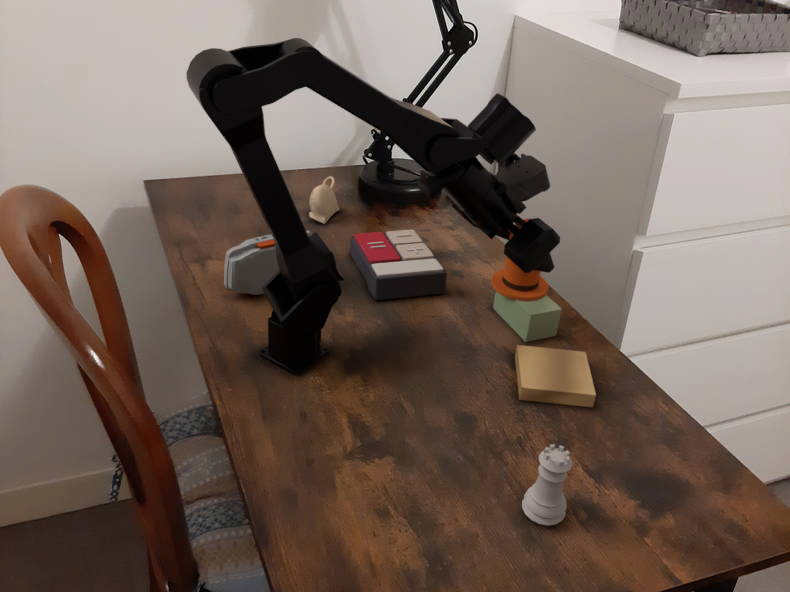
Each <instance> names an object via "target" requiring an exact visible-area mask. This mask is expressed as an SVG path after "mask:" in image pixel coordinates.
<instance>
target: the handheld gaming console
mask: <svg viewBox="0 0 790 592" xmlns="http://www.w3.org/2000/svg"><path fill="white" fill-rule="evenodd" d="M305 230H306V229H305ZM306 232H307V234H308V237H309V236H311V235H312V234H313V233H312V232H311V231H310V230H308V229H307V230H306ZM223 267H224V268H223V284H224V287H225V288H226V289H227V290H228V291H229V292H230V291H232V292H234V293H235V294H236V293H237V294H250V295H254V296H257V295H265V293H264V291H263V286H264V285H265V284H266V283H267V282H268V281H269V280H270V279H271V278H272V277H273V276H274V275H275V274H276V273H277V272H278V271H279V267H278V263H277V259H276V249H275V242H274V239H273V237H272V235H271V234H266V235H263V236H258V237H253V238H248V239H245V241H243V242H242V243H240V244H238V245H235V246H233V247H231V248H229V249H228V250H226V252H225V258H224V266H223Z"/></svg>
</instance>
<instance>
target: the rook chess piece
mask: <svg viewBox="0 0 790 592" xmlns="http://www.w3.org/2000/svg"><path fill="white" fill-rule="evenodd" d="M548 446H549V447H548ZM548 446H545V448H544V450H541V452H540V453H539V455H538V461H539V463H540V464H539V466H538V469H537V470H538V476H537V478H536V481H535V482H534V484H532V485H531V486H530V487H529V488H528V489H527V491H526V492H525V493H524V496H523V499H522V501H521V509H522V511H523V513H524V514H525V515H526V517H527V518H528V519H529V520H530V521H531V522H533V523H535V524H537V525H539V526H543V527H545V526H546V527H549V526H555V525H558V524H559V523H561V522H563V520H564V518H565V517H566V515H567V514H566V510H567V499H566V498H565V497H566V496H565V493H564V491H563V487H564V481H565V480H566V479H567V477H568V471H570V470H571V469H572V467H573V460H572V458H571V456H570V455H571V452H570V451H569V449H566V450H565V446H562V445H561V444H560V445H559V446H558V447H556V444H554V443H553V444H549V445H548Z"/></svg>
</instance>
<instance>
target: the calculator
mask: <svg viewBox="0 0 790 592" xmlns="http://www.w3.org/2000/svg"><path fill="white" fill-rule="evenodd" d="M349 254H350V256H351V257H352V259H353V262H354V263H355V265H356V266H357V268H358V270H359V272H360V273H361V275H362V276H363V279H364V280H365V282H366V285H367V289H368V291H369V293H370V294H371V296H372V297H373V299H374V300H375V301H381V300H393V299H401V298H412V297H423V296H430V295H431V296H432V295H433V296H434V295H440V294H445V293H446V286H447V277H448V276H447V275H448V271H447V270H446V268H445V267H444V266H443V265H442V264H441V262H440V261H439V260H438V259H437V257H436V256H435V254H434V253H433V252H432V251H431V250H430V248H429V246H427V245H426V243H425V242H424V241H423V240H422V238H421V237H420V236H419V234H418V233H417V232H416V231H415V230H414V229H402V230H401V229H399V230H388V231H387V230H386V231H385V233H383V231H376V232H375V231H374V232H373V231H372V232H360V233H354V234H353V235H352V236H351V235H350V238H349Z"/></svg>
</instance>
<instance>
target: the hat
mask: <svg viewBox="0 0 790 592" xmlns="http://www.w3.org/2000/svg"><path fill="white" fill-rule="evenodd" d="M522 219H523V220H524V221H526V222H527V221H528V220H529V219H530V218H522ZM514 225H516V224H515V223H514ZM516 226H517V227H518V228H519V229H521V228H520V227H519V226H518V225H516ZM513 236H514V235H513V234H512V233H510V238H509V240H510V239H511V238H512V237H513ZM509 240H508V241H509ZM541 272H542V271H536V270H532V271H531V272H529V273H524V272H523V271H522V270H521V269H520V268H518V267H517V266H516V265H515V264H514V263H513V262H512V261H511V260H510V259H509V258H508V257H507V256H506V255H505V262H504V268H503V269H501V270H498V271H496V272H495V273H493V275H492V277H491V284H490V285H491V287H492V288H493V290H494V291H495V292H496V291H497V292H498V293H499V294H501V295H503V296H505V297H508V298H511V299H514V300H520V301H533V300H538V299H541V298H543V297H544V296H545V295H548V292H549V283H548V282H547V280H546V279H545V278H544V277H543V276H541Z"/></svg>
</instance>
